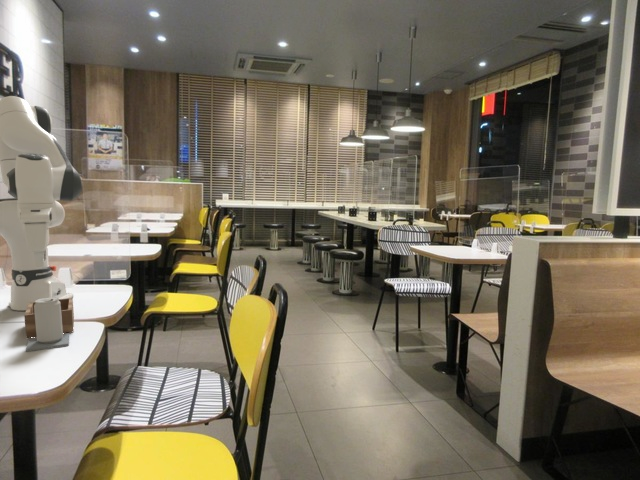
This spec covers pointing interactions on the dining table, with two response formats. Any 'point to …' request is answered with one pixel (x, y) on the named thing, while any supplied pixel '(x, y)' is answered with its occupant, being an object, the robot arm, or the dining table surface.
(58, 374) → the dining table surface
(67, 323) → the box
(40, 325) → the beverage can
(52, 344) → the mat
